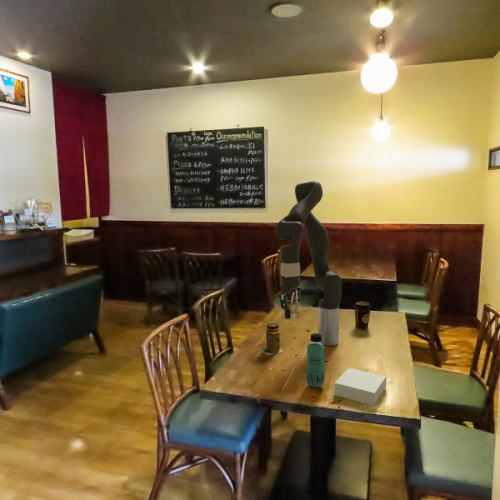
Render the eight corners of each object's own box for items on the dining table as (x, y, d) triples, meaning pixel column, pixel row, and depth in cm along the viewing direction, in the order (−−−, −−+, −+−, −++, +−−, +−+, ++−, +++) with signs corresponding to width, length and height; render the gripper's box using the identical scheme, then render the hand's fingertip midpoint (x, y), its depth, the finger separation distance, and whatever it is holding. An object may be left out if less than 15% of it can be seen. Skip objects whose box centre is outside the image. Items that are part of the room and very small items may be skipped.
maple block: (288, 315, 167) (287, 300, 166) (299, 317, 164) (299, 302, 163) (282, 318, 163) (281, 303, 162) (293, 320, 160) (293, 305, 159)
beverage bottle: (304, 383, 157) (304, 331, 154) (322, 382, 157) (322, 330, 154) (308, 391, 150) (308, 338, 147) (326, 390, 151) (327, 337, 148)
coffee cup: (372, 326, 216) (373, 302, 214) (368, 331, 209) (368, 306, 207) (356, 324, 220) (356, 300, 218) (351, 328, 214) (351, 304, 212)
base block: (348, 380, 159) (348, 367, 158) (385, 389, 152) (386, 376, 151) (334, 396, 148) (334, 382, 147) (374, 406, 140) (374, 392, 139)
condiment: (283, 351, 187) (283, 325, 185) (268, 355, 182) (268, 329, 181) (274, 346, 193) (273, 321, 191) (258, 350, 188) (258, 324, 187)
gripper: (290, 269, 169) (290, 310, 171) (272, 276, 157) (273, 320, 159) (307, 270, 165) (307, 312, 167) (290, 278, 153) (291, 323, 155)
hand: (290, 316), depth 163 cm, fingers closed on maple block, 5 cm apart
